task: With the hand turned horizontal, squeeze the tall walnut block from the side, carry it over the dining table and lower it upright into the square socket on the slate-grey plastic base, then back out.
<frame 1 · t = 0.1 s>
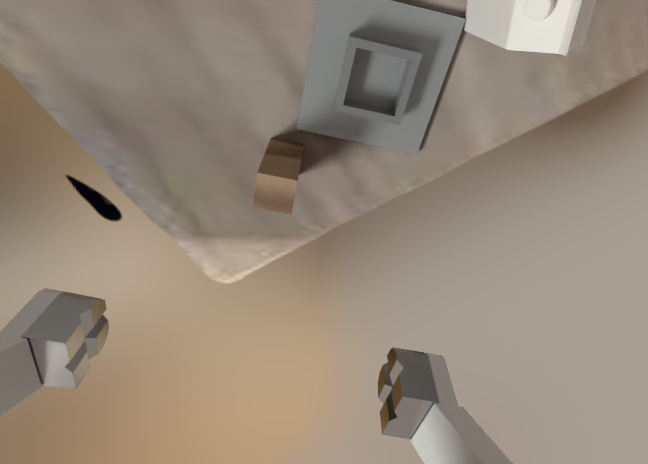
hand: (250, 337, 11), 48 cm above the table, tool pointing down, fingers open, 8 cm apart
walnut block: (285, 157, 59), on the table
socket base: (373, 76, 53), on the table
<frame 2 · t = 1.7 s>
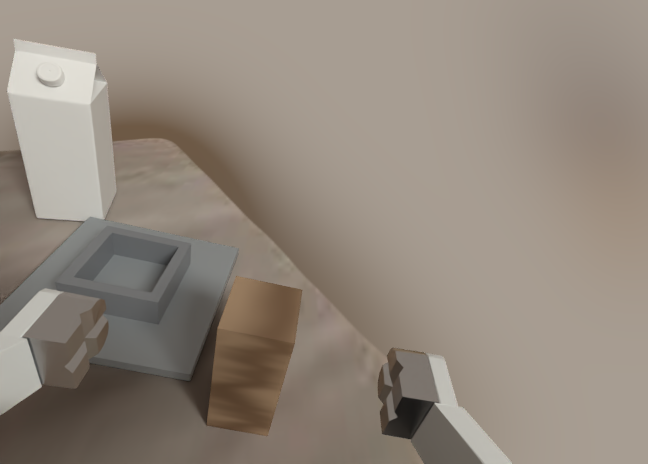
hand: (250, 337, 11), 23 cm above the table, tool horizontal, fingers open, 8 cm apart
milk carton: (79, 206, 50), on the table
walnut block: (244, 402, 34), on the table
socket base: (132, 289, 41), on the table
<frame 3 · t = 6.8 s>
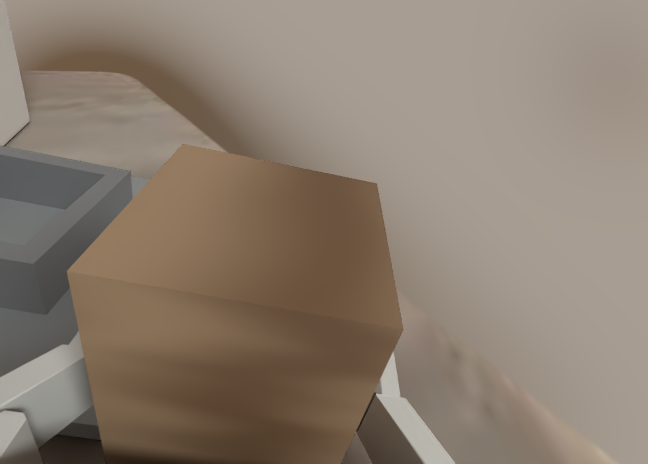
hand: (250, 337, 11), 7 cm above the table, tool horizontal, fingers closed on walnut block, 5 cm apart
socket base: (15, 254, 22), on the table
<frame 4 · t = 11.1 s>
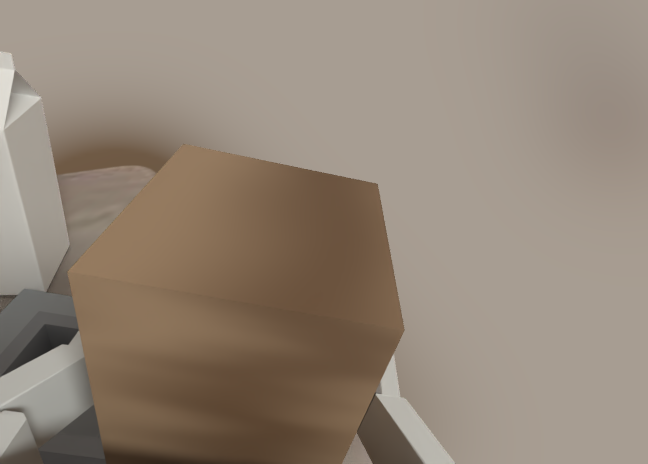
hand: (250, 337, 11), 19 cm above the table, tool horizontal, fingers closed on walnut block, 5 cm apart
milk carton: (14, 270, 36), on the table
socket base: (77, 411, 26), on the table
when the fingers open (10 cm above the table, at t = 15.7 s): walnut block drops 1 cm, resting on socket base.
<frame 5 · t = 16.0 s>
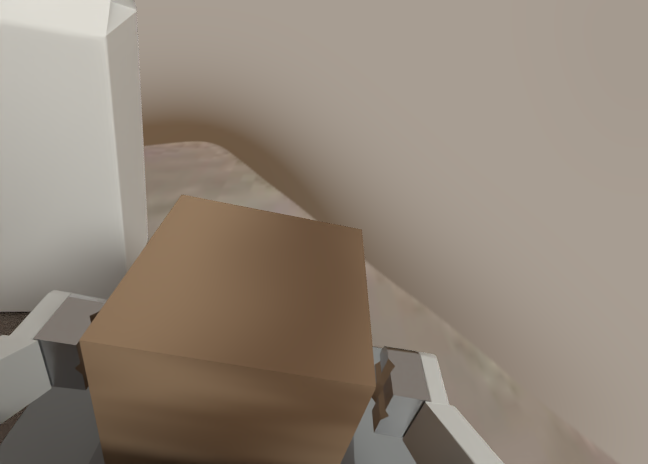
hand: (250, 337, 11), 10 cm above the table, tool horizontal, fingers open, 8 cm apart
milk carton: (79, 274, 25), on the table
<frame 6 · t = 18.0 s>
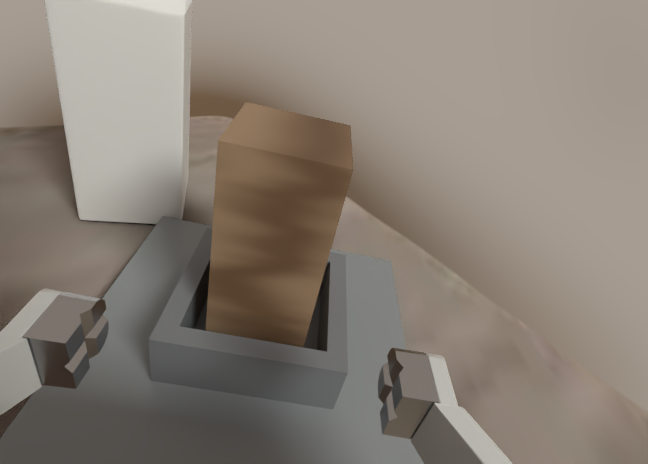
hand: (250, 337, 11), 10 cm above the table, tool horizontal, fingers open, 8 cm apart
milk carton: (139, 202, 33), on the table
walnut block: (259, 326, 23), point 1 cm above the table, touching socket base
socket base: (257, 337, 23), on the table
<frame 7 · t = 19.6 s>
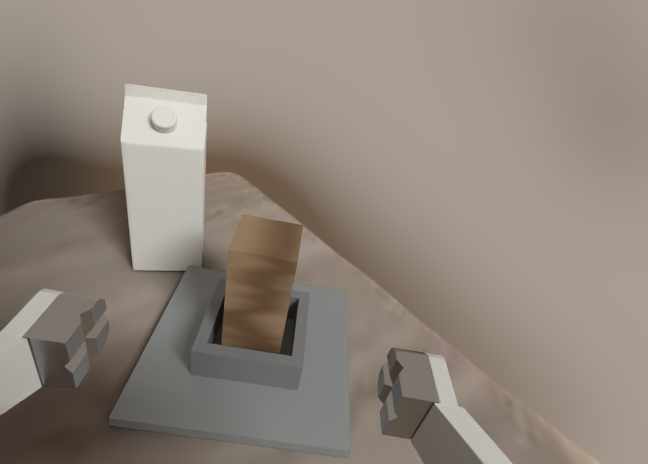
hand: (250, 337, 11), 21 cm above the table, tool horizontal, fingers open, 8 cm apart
milk carton: (171, 253, 46), on the table
walnut block: (253, 341, 37), point 1 cm above the table, touching socket base
socket base: (253, 348, 37), on the table
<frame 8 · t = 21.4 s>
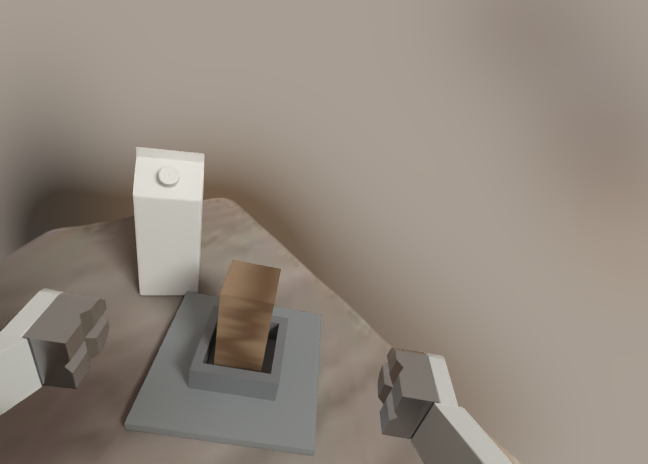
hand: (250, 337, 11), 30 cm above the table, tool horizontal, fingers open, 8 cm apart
milk carton: (171, 279, 54), on the table
walnut block: (241, 359, 44), point 1 cm above the table, touching socket base
socket base: (240, 364, 45), on the table
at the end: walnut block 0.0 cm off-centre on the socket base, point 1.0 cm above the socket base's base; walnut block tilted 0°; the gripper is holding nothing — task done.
